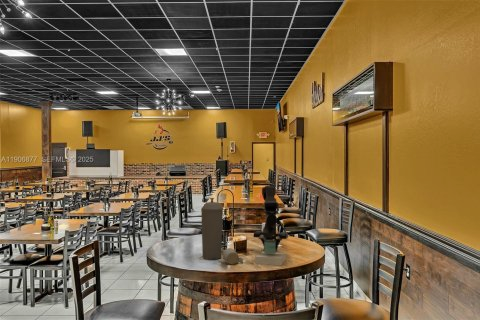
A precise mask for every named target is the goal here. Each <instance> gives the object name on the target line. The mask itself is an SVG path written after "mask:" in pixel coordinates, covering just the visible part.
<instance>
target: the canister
mask: <svg viewBox="0 0 480 320" xmlns="http://www.w3.org/2000/svg"><path fill="white" fill-rule="evenodd" d="M209 199H210V202H209V201H207V202H205V204H204V205H203V206H202V207H201V210H200V211H201V212H200V213H201V243H202V244H201V245H202V246H201V249H202V258H203V259H205V260H212V261H213V260H219V259H221V258H222V251H223V250H222V248H223V247H222V245H223V242H222V240H223V210H224V208H223V206H222V205H221V204H219V202H216V201H214V199H215V198H214V197H210V198H209Z"/></svg>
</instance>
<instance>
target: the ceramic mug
mask: <svg viewBox="0 0 480 320" xmlns="http://www.w3.org/2000/svg"><path fill="white" fill-rule="evenodd" d="M222 259H223V260H224V261H225V262H226V263H227V264H228V265H235V264H237V263H240V264H243V263H244V259H242V258H240V257H239V254H238V253H237V252H236V250H235V249H234V248H231V247H230V248H228V247H227V248H225V250H223V253H222Z"/></svg>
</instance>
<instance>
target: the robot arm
mask: <svg viewBox="0 0 480 320" xmlns="http://www.w3.org/2000/svg"><path fill="white" fill-rule="evenodd" d="M276 191H277V189H276V187H274V185H265V186H263V187H262V188H261V196H262V199H263V201H264V202H263V211H264V212H263V213H264V215H265V218H264V219H265V225H264V227H263V228H262V230H256V231H254V232H253V238H258V240H260V241H261V243H262V245H263V247H264V242H265V241H267V240H273V241H276V251H277V252H278V249H279V245H280V243H281V241H283V240H287V239H288V238H289V233H288V232H283V231H282V232H281V231H280V232H279V233H277V222H278V217H277V214H278V213H279V211H280V204H279V202H278V201H277V198H275V196H276V195H277V192H276ZM262 251H264V249H263V250H262Z"/></svg>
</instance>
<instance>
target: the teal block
mask: <svg viewBox="0 0 480 320" xmlns="http://www.w3.org/2000/svg"><path fill="white" fill-rule="evenodd" d="M263 250H264V253H273V254H275V253H276V252H278V250H277V251H276V241H273V240H267V241H265V242H264V246H263Z"/></svg>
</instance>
